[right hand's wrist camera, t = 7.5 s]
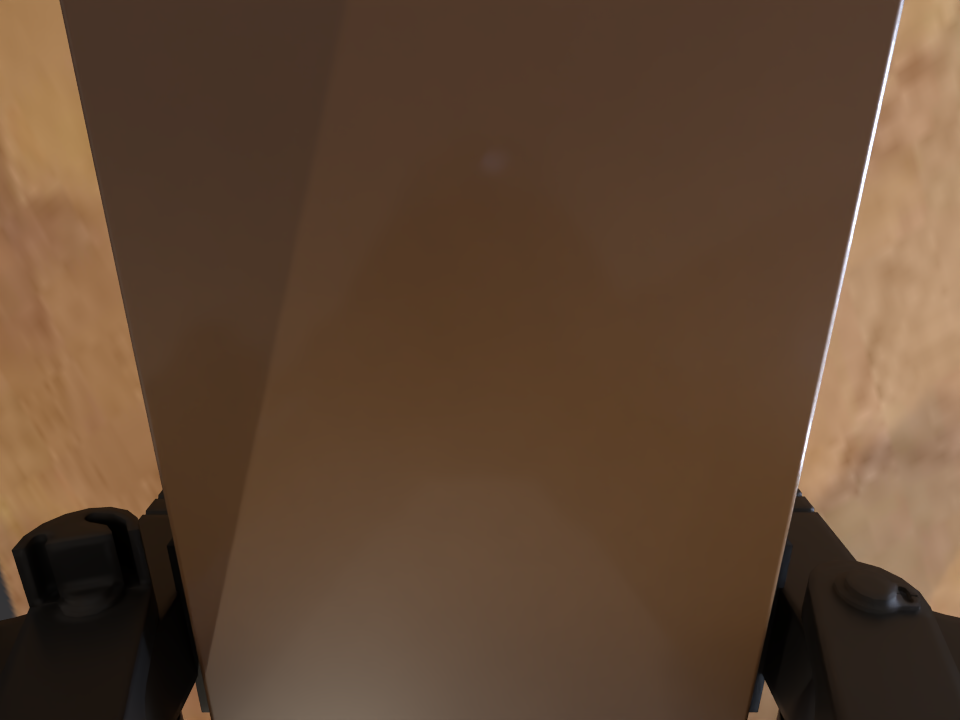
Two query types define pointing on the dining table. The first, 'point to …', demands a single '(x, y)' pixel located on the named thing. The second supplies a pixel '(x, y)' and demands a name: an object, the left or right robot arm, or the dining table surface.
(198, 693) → the right robot arm
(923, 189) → the dining table surface
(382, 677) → the post
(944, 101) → the dining table surface
